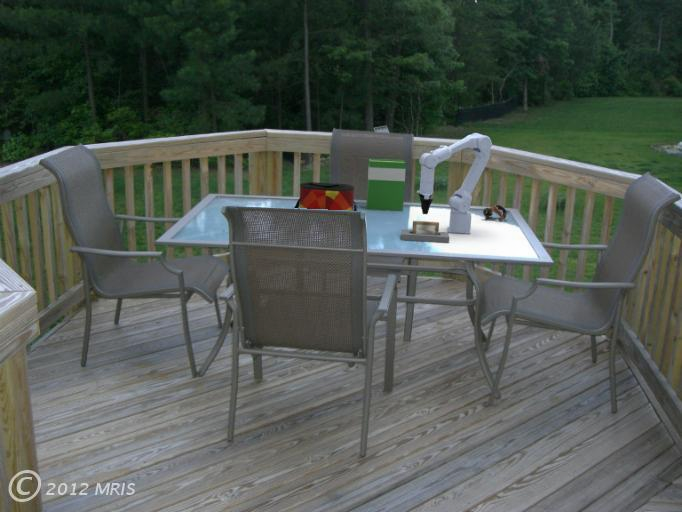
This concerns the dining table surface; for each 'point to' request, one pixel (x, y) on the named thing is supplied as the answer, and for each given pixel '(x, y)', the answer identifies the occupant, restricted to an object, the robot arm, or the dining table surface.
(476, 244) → the dining table surface
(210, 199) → the dining table surface
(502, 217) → the dark brown curved piece
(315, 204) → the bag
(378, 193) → the hardback book
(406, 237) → the panel with rectangular hole
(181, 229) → the dining table surface
